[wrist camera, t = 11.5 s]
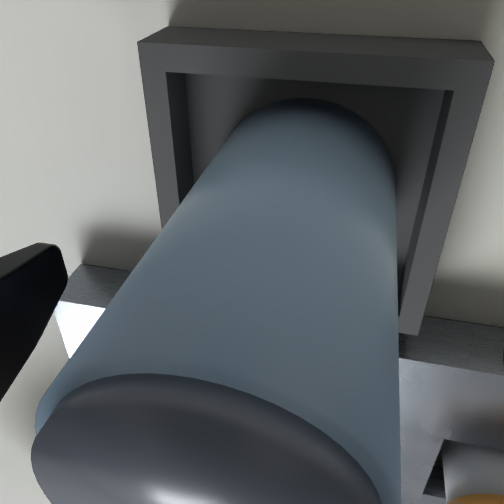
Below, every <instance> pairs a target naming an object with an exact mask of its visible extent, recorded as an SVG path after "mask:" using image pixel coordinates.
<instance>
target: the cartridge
mask: <svg viewBox="0 0 504 504" xmlns="http://www.w3.org/2000/svg"><path fill="white" fill-rule="evenodd" d="M35 429H36V435H37V436H36V437H35V440H34V443H33V445H32V450H31V462H32V468H33V472H34V474H35V477H36V479H37V482H38V484H39V485H40V487H41V489H42V490H43V492H44V494H45V495H46V496H47V498H48V499H49V500H50V502H51V503H52V504H401V450H400V396H399V342H398V288H397V234H396V182H395V170H394V165H393V161H392V158H391V155H390V152H389V150H388V149H387V147H386V145H385V143H384V141H383V140H382V138H381V137H380V135H379V134H378V133H377V131H376V130H375V129H374V128H373V127H372V126H371V125H370V124H369V123H368V122H367V121H365V120H364V119H363V118H362V117H360V116H359V115H358V114H356V113H354V112H353V111H351V110H349V109H348V108H346V107H343V106H341V105H338V104H336V103H333V102H329V101H326V100H322V99H315V98H290V99H283V100H279V101H276V102H272V103H270V104H267V105H265V106H263V107H260V108H259V109H257V110H255V111H254V112H252V113H250V114H249V115H248V116H247V117H246V118H244V119H243V120H242V121H241V122H240V123H239V124H238V125H237V126H236V127H235V128H234V130H233V131H232V133H231V134H230V135H229V137H228V138H227V140H226V141H225V142H224V144H223V145H222V147H221V148H220V149H219V151H218V152H217V154H216V155H215V156H214V158H213V159H212V161H211V162H210V163H209V165H208V166H207V168H206V169H205V170H204V172H203V173H202V175H201V176H200V177H199V179H198V180H197V182H196V183H195V184H194V186H193V187H192V189H191V190H190V191H189V193H188V194H187V196H186V197H185V198H184V200H183V201H182V202H181V204H180V205H179V207H178V208H177V209H176V211H175V212H174V214H173V215H172V216H171V218H170V219H169V221H168V222H167V223H166V225H165V226H164V228H163V229H162V230H161V232H160V233H159V235H158V236H157V237H156V239H155V240H154V242H153V243H152V244H151V246H150V247H149V249H148V250H147V251H146V253H145V254H144V256H143V257H142V258H141V260H140V261H139V263H138V264H137V265H136V267H135V268H134V270H133V271H132V272H131V274H130V275H129V277H128V278H127V279H126V281H125V282H124V284H123V285H122V286H121V288H120V289H119V291H118V292H117V293H116V295H115V296H114V298H113V299H112V300H111V302H110V303H109V305H108V306H107V307H106V309H105V310H104V311H103V313H102V314H101V316H100V317H99V318H98V320H97V321H96V323H95V324H94V325H93V327H92V328H91V330H90V331H89V332H88V334H87V335H86V337H85V338H84V339H83V341H82V342H81V344H80V345H79V346H78V348H77V349H76V351H75V352H74V353H73V355H72V356H71V358H70V359H69V360H68V362H67V363H66V365H65V366H64V367H63V369H62V370H61V372H60V373H59V374H58V376H57V377H56V379H55V380H54V381H53V383H52V384H51V386H50V387H49V388H48V390H47V391H46V393H45V394H44V396H43V397H42V399H41V400H40V402H39V405H38V408H37V411H36V418H35Z"/></svg>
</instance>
